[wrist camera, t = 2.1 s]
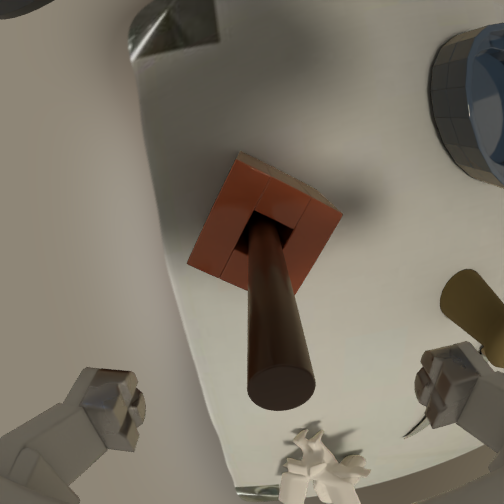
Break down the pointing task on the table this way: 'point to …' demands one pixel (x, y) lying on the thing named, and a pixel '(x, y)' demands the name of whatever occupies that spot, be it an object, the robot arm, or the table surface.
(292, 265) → the holder
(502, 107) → the bowl
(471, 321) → the pepper shaker
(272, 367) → the stick
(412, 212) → the table surface
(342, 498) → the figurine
